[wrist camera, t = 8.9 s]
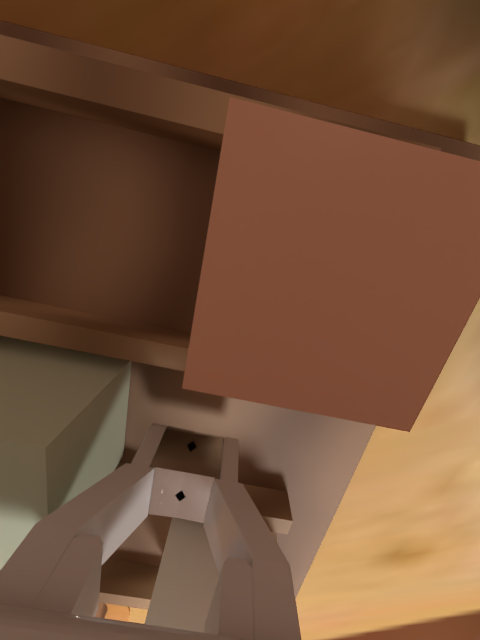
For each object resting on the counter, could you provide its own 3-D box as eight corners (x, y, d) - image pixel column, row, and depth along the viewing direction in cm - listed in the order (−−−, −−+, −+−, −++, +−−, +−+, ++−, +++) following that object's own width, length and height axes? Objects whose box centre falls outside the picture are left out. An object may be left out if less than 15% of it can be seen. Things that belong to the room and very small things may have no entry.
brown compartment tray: (465, 165, 8) (607, 114, 5) (287, 577, 14) (300, 667, 11) (-107, 19, 7) (-377, -157, 4) (-24, 529, 13) (-102, 613, 10)
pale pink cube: (274, 514, 11) (291, 658, 7) (252, 575, 12) (256, 724, 8) (177, 498, 11) (140, 637, 7) (165, 562, 12) (129, 709, 8)
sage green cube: (131, 359, 9) (45, 448, 5) (123, 454, 10) (50, 582, 6) (4, 334, 8) (-191, 407, 5) (13, 435, 10) (-133, 556, 6)
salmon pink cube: (383, 213, 7) (542, 177, 3) (334, 348, 8) (409, 431, 5) (236, 178, 7) (230, 96, 3) (210, 322, 8) (181, 388, 4)
